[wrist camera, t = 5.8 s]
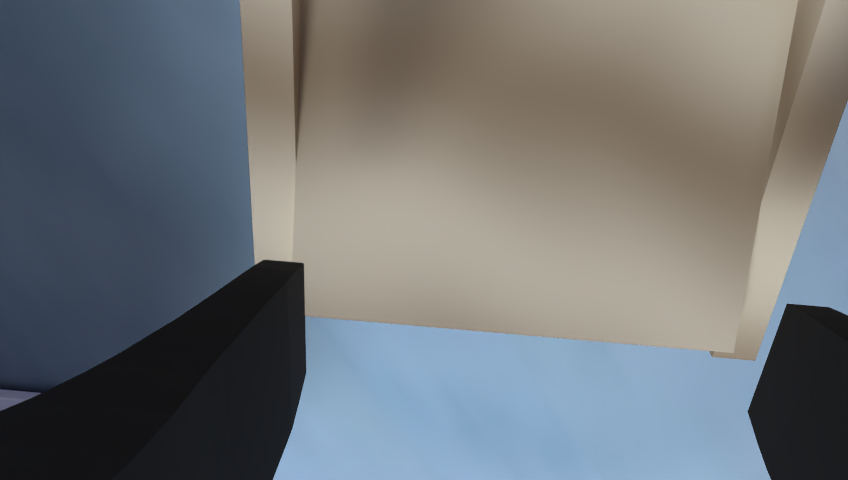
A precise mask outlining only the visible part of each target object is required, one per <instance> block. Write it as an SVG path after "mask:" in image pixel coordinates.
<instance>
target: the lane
mask: <svg viewBox="0 0 848 480" xmlns="http://www.w3.org/2000/svg"><path fill="white" fill-rule="evenodd" d="M240 13H241V31H242V48H243V66H244V84H245V101H246V119H247V136H248V154H249V171H250V189H251V207H252V224H253V242H254V259H255V265H256V264H257V263H259V262H261V261H263V260H275V261H287V262H299V263H304V291H305V316H310V317H322V318H333V319H345V320H356V321H368V322H379V323H391V324H403V325H414V326H426V327H437V328H449V329H460V330H472V331H484V332H495V333H507V334H518V335H530V336H542V337H553V338H565V339H576V340H588V341H599V342H611V343H623V344H634V345H646V346H657V347H669V348H680V349H692V350H704V351H709V352H710V354H711V355H712V357H719V358H731V359H743V360H754V361H755V360H756V357H757V354H758V351H759V348H760V346H761V343H762V340H763V337H764V334H765V331H766V329H767V326H768V323H769V320H770V317H771V315H772V312H773V309H774V306H775V303H776V300H777V298H778V295H779V292H780V289H781V286H782V284H783V281H784V278H785V275H786V272H787V269H788V267H789V264H790V261H791V258H792V255H793V253H794V250H795V247H796V244H797V241H798V238H799V236H800V233H801V230H802V227H803V224H804V222H805V219H806V216H807V213H808V210H809V207H810V205H811V202H812V199H813V196H814V193H815V191H816V188H817V185H818V182H819V179H820V176H821V174H822V171H823V168H824V165H825V162H826V159H827V157H828V154H829V151H830V148H831V145H832V143H833V140H834V137H835V134H836V131H837V128H838V126H839V123H840V120H841V117H842V114H843V112H844V109H845V106H846V103H847V100H848V0H240Z"/></svg>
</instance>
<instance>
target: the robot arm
mask: <svg viewBox="0 0 848 480" xmlns="http://www.w3.org/2000/svg"><path fill="white" fill-rule="evenodd" d="M305 375H306V344H305V291H304V263H299V262H287V261H275V260H263V261H261V262H259V263H257V264H256V265H254V266H253V267H251V268H250V269H248V270H247V271H245V272H244V273H243V274H241V275H240V276H238V277H237V278H235V279H234V280H232V281H231V282H230V283H228V284H227V285H225V286H224V287H222V288H221V289H220V290H218V291H217V292H215V293H214V294H212V295H211V296H209V297H208V298H206V299H205V300H203V301H202V302H201V303H199V304H198V305H196V306H195V307H193V308H192V309H190V310H189V311H187V312H186V313H184V314H183V315H181V316H180V317H178V318H177V319H175V320H174V321H172V322H170V323H169V324H167V325H165V326H164V327H162V328H160V329H159V330H157V331H155V332H154V333H152V334H151V335H149V336H147V337H146V338H144V339H142V340H141V341H139V342H137V343H136V344H134V345H132V346H131V347H129V348H127V349H126V350H124V351H122V352H121V353H119V354H117V355H116V356H114V357H112V358H110V359H108V360H107V361H105V362H103V363H101V364H99V365H97V366H95V367H93V368H92V369H90V370H88V371H86V372H84V373H82V374H80V375H78V376H76V377H74V378H72V379H70V380H68V381H66V382H64V383H62V384H60V385H57V386H55V387H53V388H51V389H49V390H47V391H45V392H43V393H35V392H24V391H13V390H2V389H0V480H273V477H274V475H275V472H276V470H277V467H278V464H279V462H280V459H281V457H282V454H283V452H284V449H285V446H286V444H287V441H288V438H289V436H290V433H291V430H292V427H293V423H294V419H295V416H296V412H297V408H298V404H299V400H300V396H301V391H302V387H303V383H304V379H305ZM748 413H749V417H750V420H751V423H752V426H753V430H754V433H755V436H756V439H757V443H758V446H759V448H760V451H761V454H762V457H763V460H764V462H765V465H766V468H767V471H768V473H769V475H770V478H771V480H848V316H847V315H845V314H843V313H841V312H838V311H836V310H834V309H832V308H829V307H819V306H807V305H795V304H787V305H786V308H785V311H784V313H783V316H782V319H781V322H780V324H779V327H778V330H777V333H776V335H775V338H774V341H773V344H772V346H771V349H770V352H769V355H768V357H767V360H766V363H765V366H764V368H763V371H762V374H761V377H760V379H759V382H758V385H757V388H756V390H755V393H754V396H753V399H752V401H751V404H750V407H749V410H748Z"/></svg>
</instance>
